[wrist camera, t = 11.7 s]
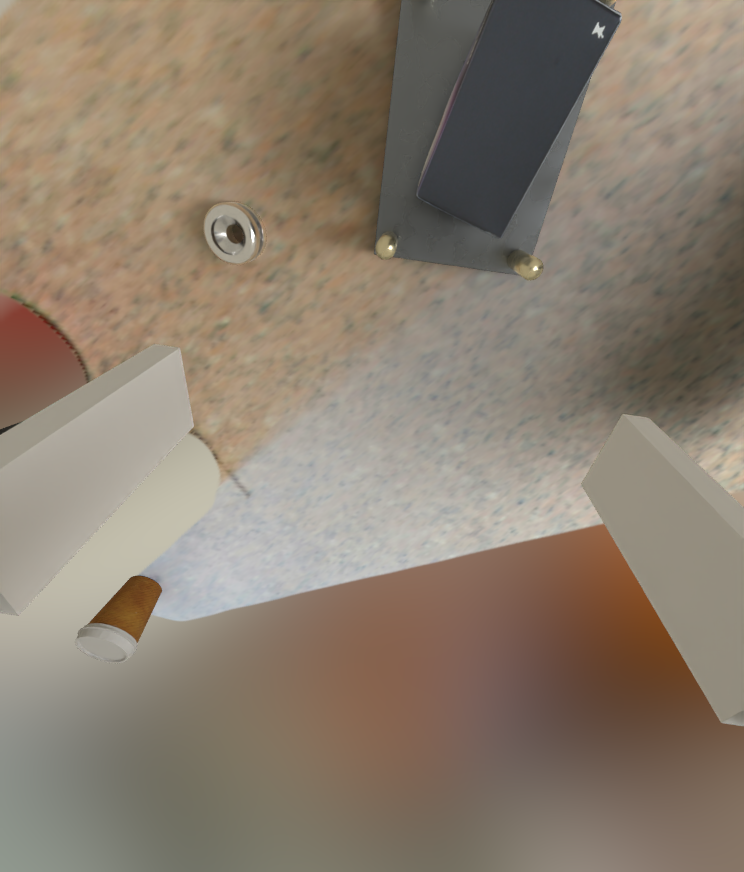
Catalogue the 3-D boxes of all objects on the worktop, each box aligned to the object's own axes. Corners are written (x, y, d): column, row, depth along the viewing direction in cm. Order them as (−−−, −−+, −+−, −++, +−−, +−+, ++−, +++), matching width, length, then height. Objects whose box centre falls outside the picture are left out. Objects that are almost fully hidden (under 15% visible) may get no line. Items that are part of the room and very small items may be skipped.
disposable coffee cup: (110, 571, 69) (59, 635, 59) (153, 568, 67) (108, 634, 57) (138, 601, 74) (96, 665, 64) (179, 598, 72) (142, 664, 62)
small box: (478, 23, 25) (514, -67, 16) (559, 71, 26) (633, 10, 17) (411, 194, 31) (411, 195, 22) (479, 229, 32) (504, 243, 23)
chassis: (613, -14, 25) (670, -72, 19) (521, 272, 35) (541, 287, 29) (407, -42, 25) (406, -108, 19) (375, 252, 35) (368, 262, 29)
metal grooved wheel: (275, 252, 36) (252, 193, 33) (265, 256, 33) (239, 193, 31) (231, 267, 37) (205, 212, 34) (218, 273, 34) (189, 213, 32)
